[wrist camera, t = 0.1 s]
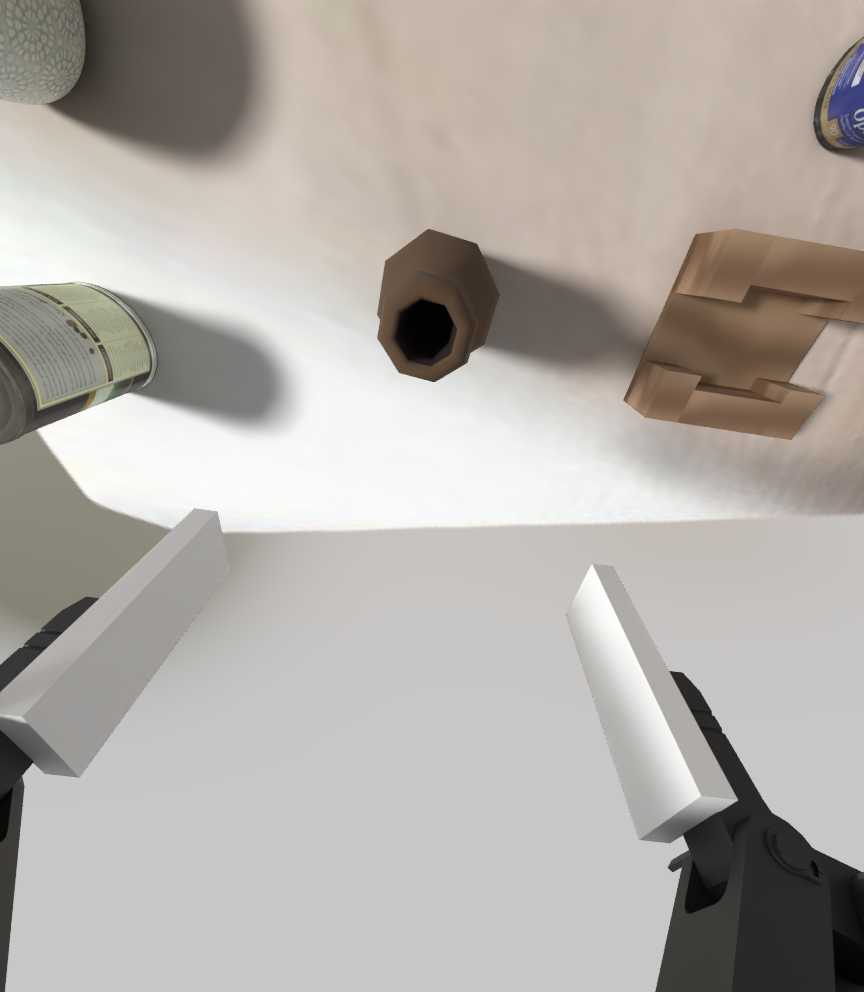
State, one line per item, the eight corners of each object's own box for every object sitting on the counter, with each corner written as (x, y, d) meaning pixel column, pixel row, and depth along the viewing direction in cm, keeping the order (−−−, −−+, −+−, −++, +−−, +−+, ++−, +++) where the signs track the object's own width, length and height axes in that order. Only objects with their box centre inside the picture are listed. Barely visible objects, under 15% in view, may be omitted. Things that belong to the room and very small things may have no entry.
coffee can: (149, 409, 40) (23, 469, 28) (46, 355, 38) (-142, 397, 26) (168, 324, 35) (24, 354, 23) (50, 255, 33) (-179, 250, 21)
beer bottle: (503, 281, 32) (590, 309, 12) (449, 355, 36) (445, 472, 15) (433, 216, 30) (393, 113, 10) (383, 301, 33) (276, 357, 13)
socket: (695, 234, 30) (736, 229, 25) (857, 262, 30) (922, 261, 26) (623, 400, 37) (645, 417, 33) (753, 420, 38) (791, 439, 33)
